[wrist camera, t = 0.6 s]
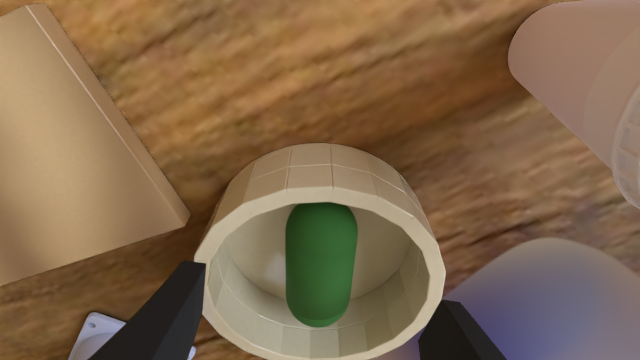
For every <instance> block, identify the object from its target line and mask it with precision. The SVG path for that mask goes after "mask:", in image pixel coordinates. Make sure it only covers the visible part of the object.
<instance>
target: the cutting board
mask: <svg viewBox="0 0 640 360" xmlns="http://www.w3.org/2000/svg"><path fill="white" fill-rule="evenodd" d="M190 216H191V213H190V212H189V210H188V209H187V208H186V206H185V205H184V203H183V202H182V200H181V199H180V197H179V196H178V195H177V193H176V192H175V190H174V189H173V187H172V186H171V184H170V183H169V182H168V180H167V179H166V177H165V176H164V174H163V173H162V171H161V170H160V169H159V167H158V166H157V164H156V163H155V161H154V160H153V158H152V157H151V156H150V154H149V153H148V151H147V150H146V148H145V147H144V145H143V144H142V143H141V141H140V140H139V138H138V137H137V135H136V134H135V132H134V131H133V130H132V128H131V127H130V125H129V124H128V122H127V121H126V119H125V118H124V117H123V115H122V114H121V112H120V111H119V109H118V108H117V107H116V105H115V104H114V102H113V101H112V99H111V98H110V96H109V95H108V94H107V92H106V91H105V89H104V88H103V86H102V85H101V83H100V82H99V81H98V79H97V78H96V76H95V75H94V73H93V72H92V70H91V69H90V68H89V66H88V65H87V63H86V62H85V60H84V59H83V57H82V56H81V55H80V53H79V52H78V50H77V49H76V47H75V46H74V44H73V43H72V42H71V40H70V39H69V37H68V36H67V34H66V33H65V31H64V30H63V29H62V27H61V26H60V24H59V23H58V21H57V20H56V19H55V17H54V16H53V14H52V13H51V11H50V10H49V8H48V7H47V6H46V4H45V3H35V4H27V5H23V6H21V7H19V8H17V9H15V10H13V11H11V12H9V13H7V14H5V15H3V16H1V17H0V286H3V285H6V284H9V283H12V282H15V281H18V280H21V279H24V278H27V277H30V276H33V275H37V274H40V273H43V272H46V271H49V270H52V269H55V268H58V267H61V266H64V265H67V264H70V263H74V262H77V261H80V260H83V259H86V258H89V257H92V256H95V255H98V254H101V253H104V252H107V251H111V250H114V249H117V248H120V247H123V246H126V245H129V244H132V243H135V242H138V241H141V240H144V239H148V238H151V237H154V236H157V235H160V234H163V233H166V232H169V231H172V230H175V229H178V228H181V227H184V226H185V225H186V223H187V221H188V219H189V218H190Z"/></svg>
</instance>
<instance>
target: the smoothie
mask: <svg viewBox="0 0 640 360" xmlns="http://www.w3.org/2000/svg"><path fill="white" fill-rule="evenodd" d="M508 65H509V69H510V72H511V74H512V75H513V77H514V78H515V79H516V80H517V81H518V82H519V83H520V84H521V85H522V86H523V87H524V88H525V89H526V90H527V91H529V92H530V93H531V94H532V95H533V96H534V97H535V98H536V99H537V100H538V101H539V102H540V103H541V104H542V105H543V106H545V107H546V108H547V109H548V110H549V111H550V112H551V113H552V114H553V115H554V116H555V117H556V118H557V119H558V120H559V121H560V122H562V123H563V124H564V125H565V126H566V127H567V128H568V129H569V130H570V131H571V132H572V133H573V134H574V135H575V136H576V137H577V138H579V139H580V140H581V141H582V142H583V143H584V144H585V145H586V146H587V147H588V148H589V149H590V150H591V151H592V152H593V153H594V154H595V155H596V156H597V157H598V158H599V159H600V160H601V161H602V162H604V163H605V164H606V165H607V166H608V167H609V168H610V169H611V170H612V172H613V178H614V183H615V184H616V186H617V187H618V189H619V190H620V192H621V193H622V195H623V196H624V198H625V199H626V201H627V202H629V203H630V204H632V205H634V206H635V207H637V208H638V209H640V0H585V1H574V2H563V3H555V4H551V5H548V6H546V7H543V8H541V9H540V10H538V11H536V12H535V13H533V14H532V15H531V16H529V17H528V18H527V19H526V20H525V21H524V22H523V23H522V25H521V26H520V27H519V28H518V30H517V31H516V33H515V35H514V37H513V39H512V41H511V44H510V47H509V51H508Z"/></svg>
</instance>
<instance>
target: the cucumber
mask: <svg viewBox="0 0 640 360" xmlns="http://www.w3.org/2000/svg"><path fill="white" fill-rule="evenodd" d="M357 239H358V226H357V222H356V219H355V216H354V214H353V213H352V211H351V210H350V208H349V207H348V206H347V205H342V204H337V203H333V202H318V203H299V204H298V205H296V207H295V208H294V209H293V210H292V212H291V213H290V215H289V217H288V220H287V223H286V229H285V263H286V301H287V304H288V307H289V309H290V311H291V313H292V315H293V316H294V317H295V318H296V319H297V320H298V321H300V322H301V323H303V324H305V325H307V326H310V327H317V328H320V327H326V326H329V325H331V324H333V323H335V322H336V321H337V320H339V319H340V318H341V317H342V316H343V314H344V313H345V311H346V309H347V307H348V304H349V301H350V294H351V287H352V279H353V271H354V263H355V255H356V247H357Z"/></svg>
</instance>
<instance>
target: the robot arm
mask: <svg viewBox="0 0 640 360" xmlns="http://www.w3.org/2000/svg"><path fill="white" fill-rule="evenodd" d="M205 274H206V263H199V262H193V261H186V260H184V261H183V262H181V263H180V264H179V265H178V267H177V268H176V269H175V270H174V272H173V273H172V274H171V275H170V276H169V278H168V279H167V280H166V281H165V282H164V283H163V285H162V286H161V287H160V288H159V289H158V290H157V291H156V292H155V294H154V295H153V296H152V297H151V298H150V299H149V300H148V301H147V302H146V303H145V304H144V305H143V306H142V307H141V308H140V309H139V310H138V312H137V313H136V314H135V315H134V316H133V317H132V318H131V319H130V320H129V321H128V322H127V323H125V322H123V321H120V320H117V319H114V318H111V317H108V316H106V315H103V314H100V313H96V312H93V313H90V314H89V315H88V317H87V318H86V321H85V323H84V325H83V327H82V329H81V331H80V334H79V336H78V338H77V340H76V342H75V345H74V347H73V349H72V351H71V353H70V356H69V358H68V360H191V359H192V358H193V356H194V355H195V352H196V349H195V348H194V347H193V342H194V339H195V336H196V332H197V329H198V325H199V322H200V318H201V315H202V311H203V300H204V287H205ZM418 343H419V352H420V359H421V360H507V359H506V358H505V357H504V356H503V354H502V353H501V352H500V351H499V349H498V348H497V347H496V346H495V345H494V343H493V342H492V341H491V340H490V338H489V337H488V336H487V335H486V334H485V332H484V331H483V330H482V329H481V327H480V326H479V325H478V324H477V322H476V321H475V320H474V319H473V317H471V315H470V314H469V313H468V311H467V310H466V309H465V308H464V307H463V305H461V303H460V302H454V301H448V300H442V299H441V301H440V303H439V305H438V306H437V308H436V310H435V312H434V313H433V315H432V317H431V319H430V320H429V322H428V324H427V326H426V328H425V329H424V331H423V333H422V334H421V336H420V338H419V340H418Z"/></svg>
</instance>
